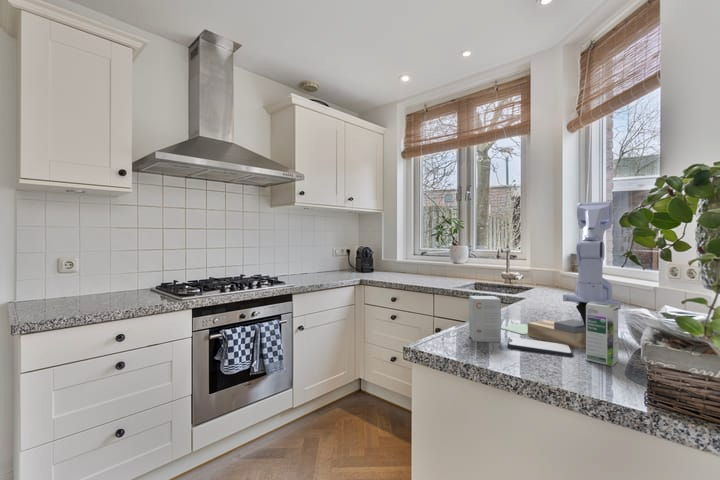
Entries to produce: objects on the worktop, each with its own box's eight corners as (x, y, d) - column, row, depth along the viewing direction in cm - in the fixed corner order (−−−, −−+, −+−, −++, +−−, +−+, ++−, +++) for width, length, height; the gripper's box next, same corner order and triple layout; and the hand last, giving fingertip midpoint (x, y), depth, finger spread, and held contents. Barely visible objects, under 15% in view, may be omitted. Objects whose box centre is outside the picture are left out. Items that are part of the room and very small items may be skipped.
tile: (572, 325, 106) (572, 319, 106) (592, 330, 100) (592, 323, 100) (554, 328, 102) (554, 322, 102) (574, 333, 96) (574, 326, 96)
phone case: (569, 350, 96) (508, 341, 103) (569, 344, 96) (508, 336, 103) (573, 360, 88) (507, 349, 95) (573, 353, 88) (507, 344, 95)
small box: (494, 336, 107) (494, 295, 107) (501, 342, 101) (501, 299, 101) (468, 336, 108) (468, 295, 108) (473, 342, 102) (473, 298, 102)
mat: (523, 324, 123) (523, 323, 123) (546, 330, 115) (546, 329, 115) (499, 328, 117) (499, 327, 117) (522, 334, 109) (522, 333, 109)
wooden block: (547, 331, 113) (547, 319, 113) (595, 343, 100) (595, 330, 100) (527, 335, 109) (527, 322, 109) (575, 348, 96) (575, 334, 96)
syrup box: (584, 360, 86) (585, 303, 86) (592, 355, 90) (592, 300, 90) (612, 367, 82) (612, 306, 82) (618, 361, 85) (619, 304, 85)
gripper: (556, 280, 101) (556, 326, 101) (610, 286, 89) (610, 338, 89) (571, 279, 105) (570, 323, 105) (625, 285, 92) (624, 335, 92)
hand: (590, 330), depth 97 cm, fingers closed
